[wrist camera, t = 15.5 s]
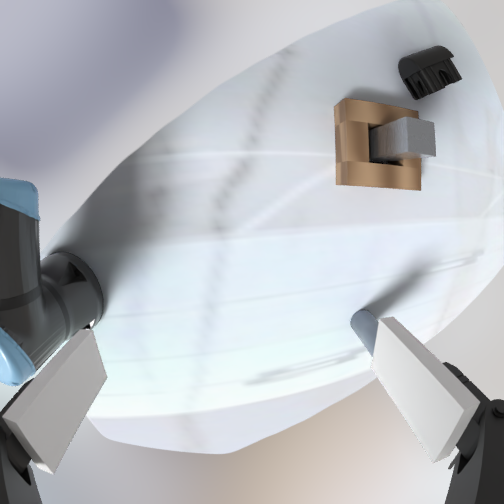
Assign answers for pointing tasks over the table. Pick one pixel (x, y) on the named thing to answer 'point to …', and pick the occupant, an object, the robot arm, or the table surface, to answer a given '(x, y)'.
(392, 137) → the square peg
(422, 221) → the table surface
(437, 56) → the end cap
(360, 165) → the socket block
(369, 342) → the round peg
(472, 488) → the robot arm
